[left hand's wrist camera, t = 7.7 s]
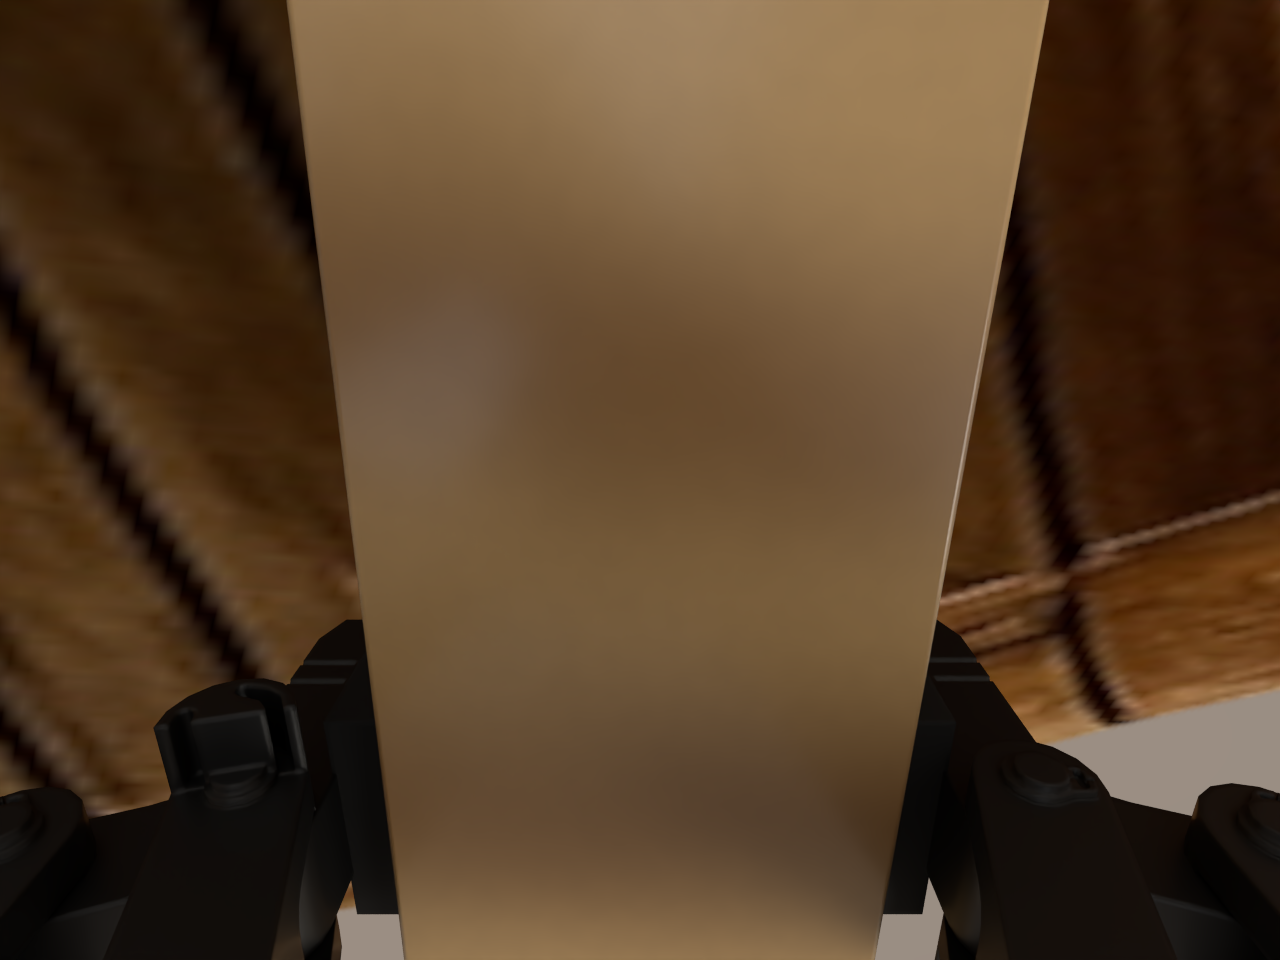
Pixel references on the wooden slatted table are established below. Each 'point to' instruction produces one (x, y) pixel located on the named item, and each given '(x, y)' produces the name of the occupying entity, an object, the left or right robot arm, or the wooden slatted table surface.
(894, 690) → the post
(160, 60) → the wooden slatted table surface
